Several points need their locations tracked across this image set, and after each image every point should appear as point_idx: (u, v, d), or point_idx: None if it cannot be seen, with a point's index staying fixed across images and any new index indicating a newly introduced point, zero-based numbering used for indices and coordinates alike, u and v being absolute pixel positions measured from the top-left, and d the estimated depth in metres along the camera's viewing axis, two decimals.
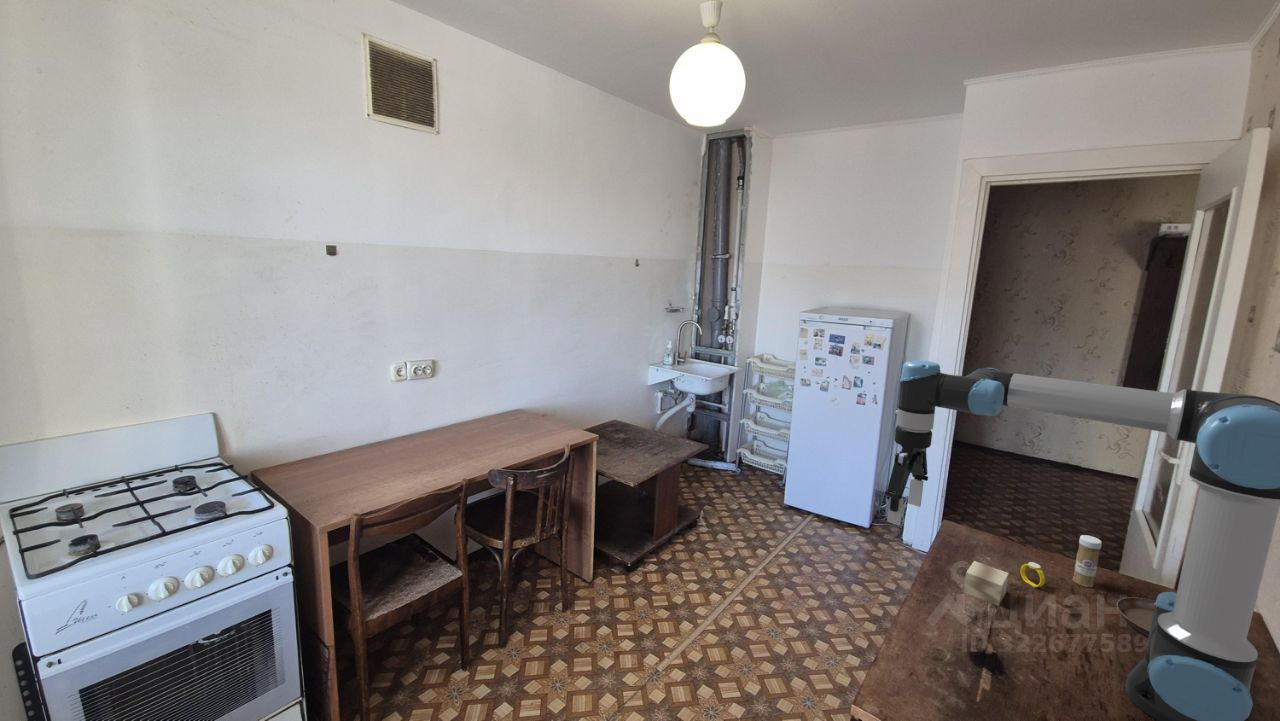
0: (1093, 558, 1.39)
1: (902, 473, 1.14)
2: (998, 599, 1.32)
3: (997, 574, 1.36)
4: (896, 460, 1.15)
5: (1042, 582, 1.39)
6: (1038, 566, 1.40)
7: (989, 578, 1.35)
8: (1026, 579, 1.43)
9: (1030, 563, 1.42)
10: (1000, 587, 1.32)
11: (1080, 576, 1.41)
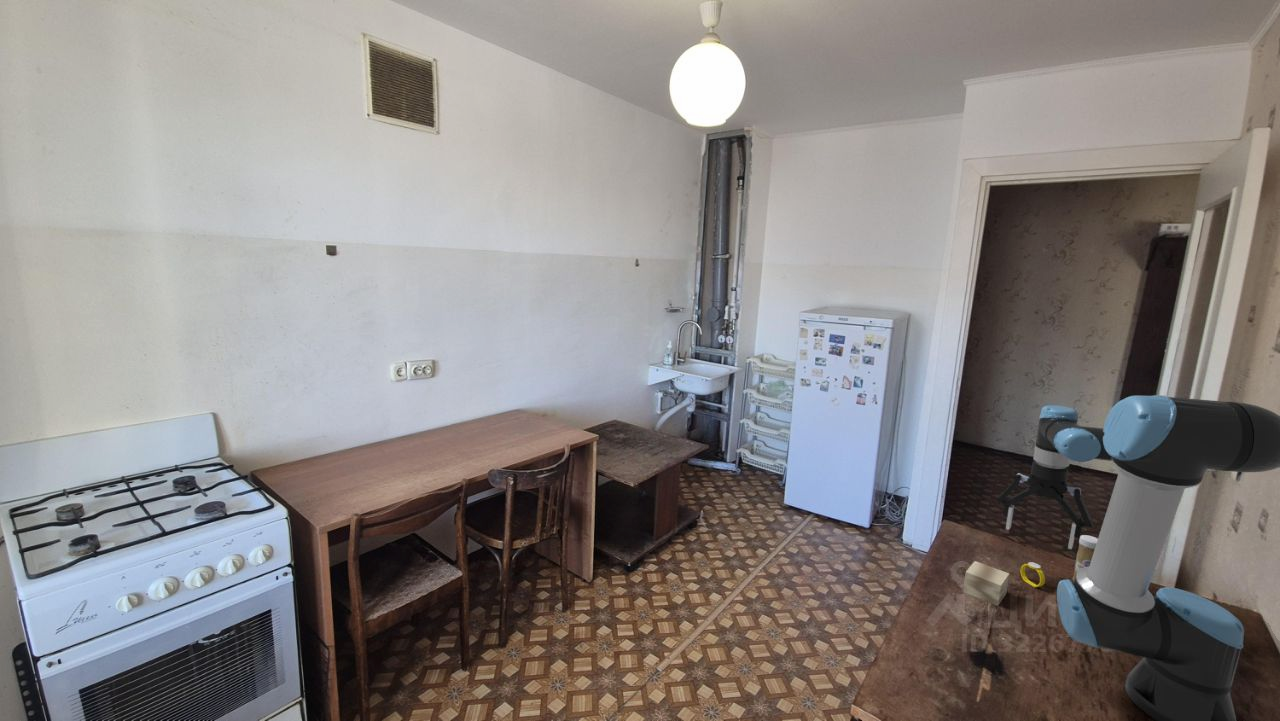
0: None
1: (1009, 486, 1.42)
2: (997, 599, 1.32)
3: (997, 574, 1.36)
4: None
5: (1042, 582, 1.39)
6: (1038, 566, 1.40)
7: (989, 578, 1.35)
8: (1026, 579, 1.43)
9: (1030, 563, 1.42)
10: (999, 587, 1.32)
11: None
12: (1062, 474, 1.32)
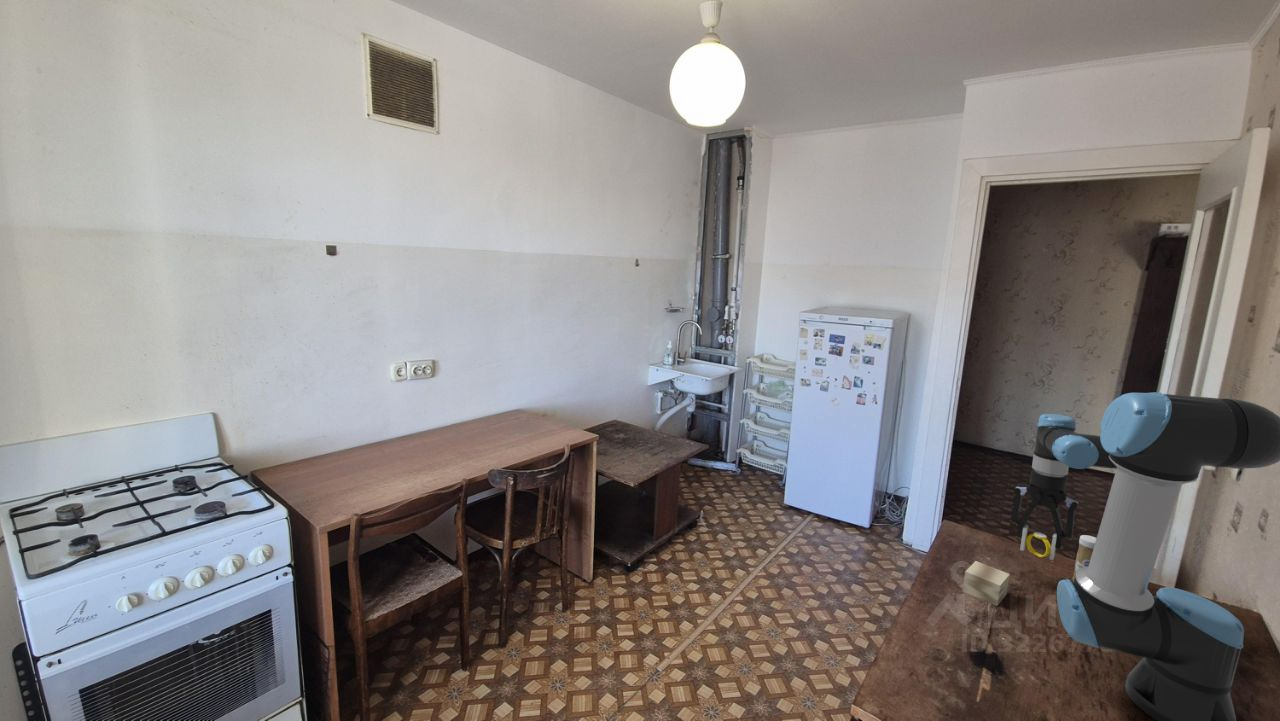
0: None
1: (1014, 502, 1.42)
2: (996, 599, 1.32)
3: (997, 574, 1.36)
4: None
5: (1048, 551, 1.37)
6: (1044, 536, 1.38)
7: (988, 578, 1.35)
8: (1032, 550, 1.41)
9: (1036, 533, 1.40)
10: (998, 587, 1.32)
11: None
12: (1061, 482, 1.33)
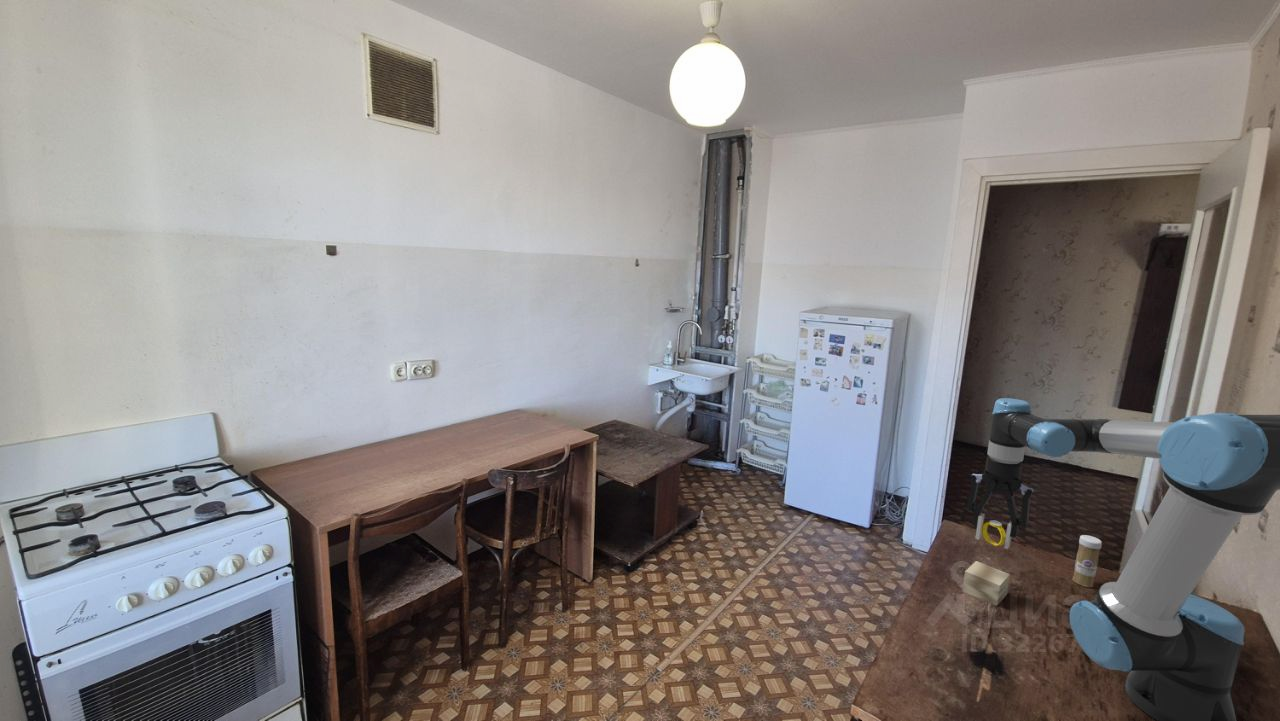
0: (1093, 558, 1.39)
1: None
2: (996, 599, 1.32)
3: (997, 575, 1.36)
4: None
5: (1003, 540, 1.32)
6: (999, 524, 1.34)
7: (988, 577, 1.35)
8: (988, 538, 1.37)
9: (991, 521, 1.35)
10: (998, 587, 1.32)
11: (1080, 576, 1.41)
12: (1015, 469, 1.28)
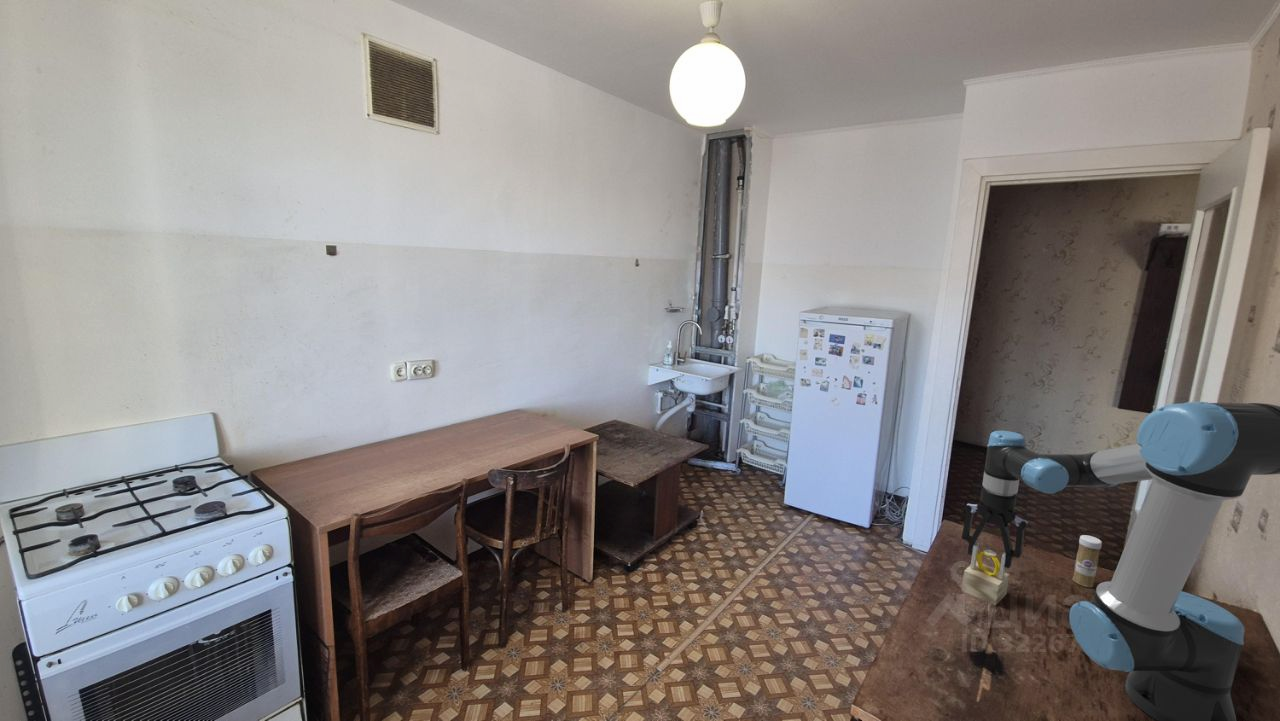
0: (1093, 558, 1.39)
1: None
2: (995, 599, 1.33)
3: None
4: None
5: (997, 570, 1.34)
6: (994, 553, 1.35)
7: (987, 577, 1.35)
8: (982, 567, 1.39)
9: (986, 550, 1.37)
10: (997, 587, 1.32)
11: (1080, 576, 1.41)
12: (1010, 501, 1.29)
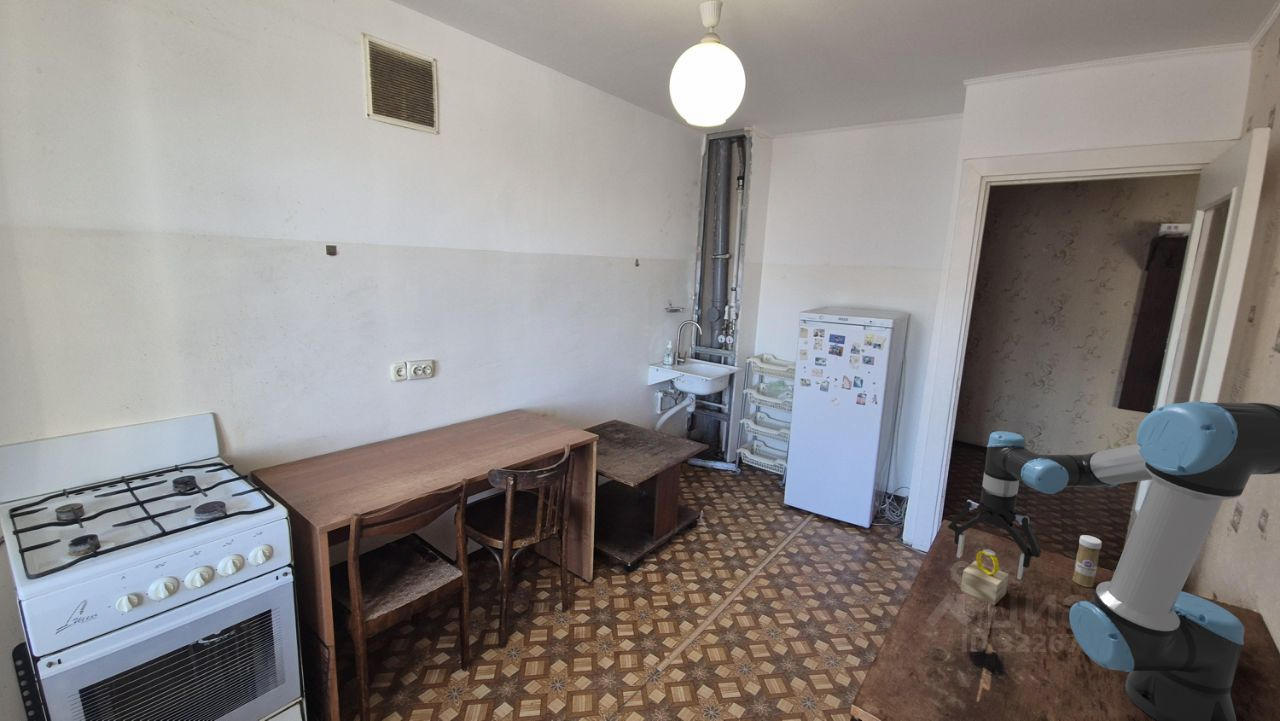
0: (1093, 558, 1.39)
1: (960, 513, 1.39)
2: (994, 598, 1.33)
3: (996, 574, 1.36)
4: None
5: (996, 569, 1.34)
6: (993, 553, 1.36)
7: (986, 577, 1.35)
8: (981, 567, 1.39)
9: (985, 550, 1.37)
10: (996, 586, 1.32)
11: (1080, 576, 1.41)
12: (1010, 502, 1.29)
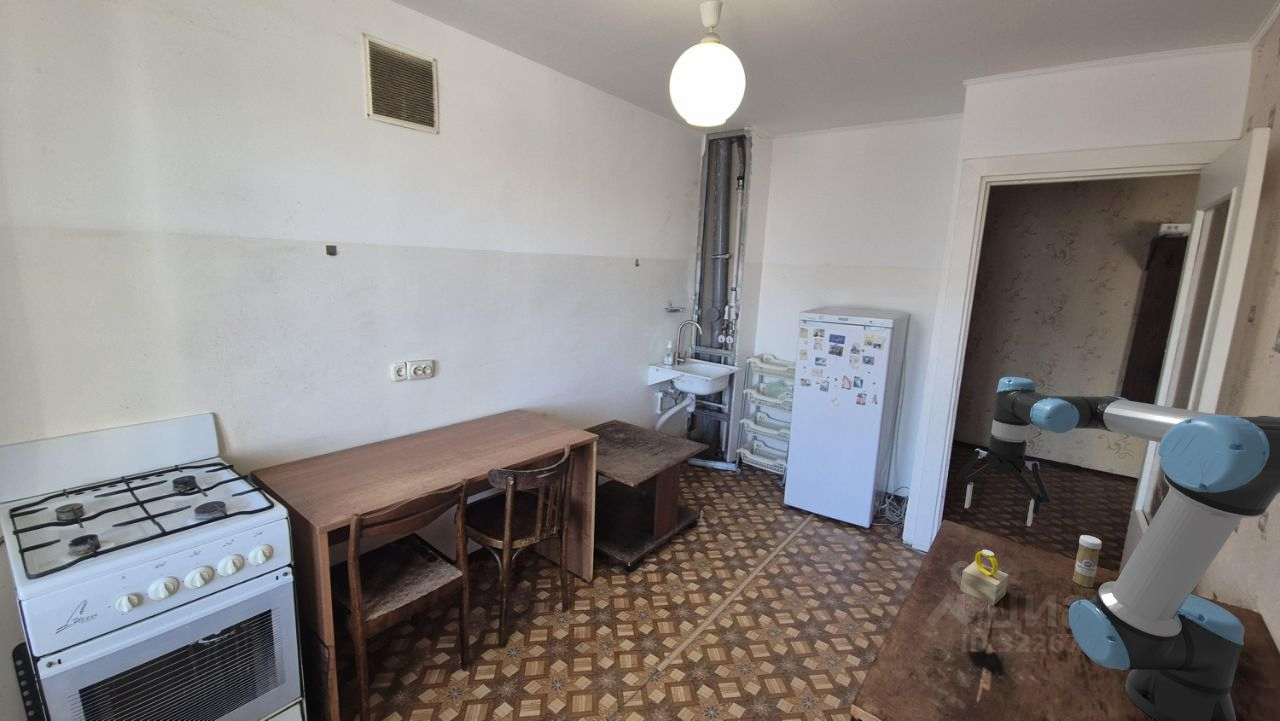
0: (1093, 558, 1.39)
1: (968, 462, 1.37)
2: (993, 599, 1.33)
3: (995, 574, 1.36)
4: None
5: (995, 570, 1.34)
6: (991, 554, 1.35)
7: (986, 577, 1.35)
8: (981, 567, 1.39)
9: (984, 551, 1.37)
10: (995, 587, 1.32)
11: (1080, 576, 1.41)
12: (1020, 447, 1.28)
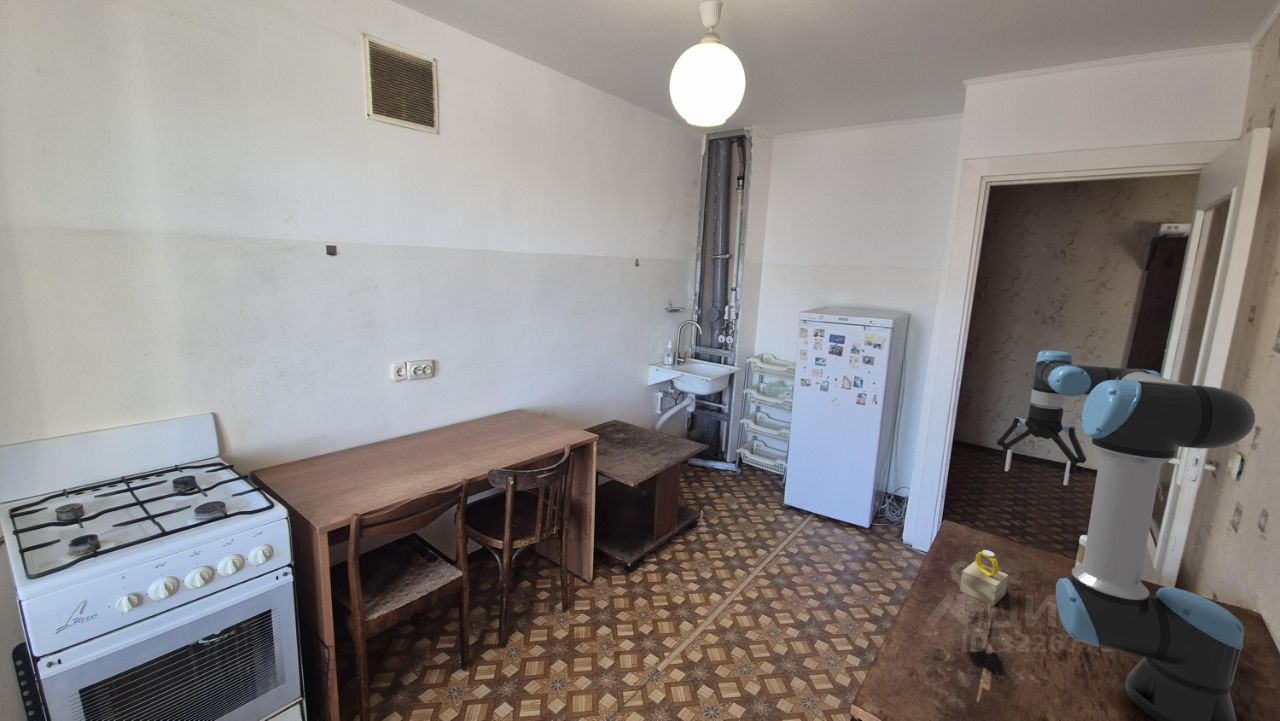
0: None
1: (1008, 429, 1.51)
2: (993, 599, 1.32)
3: (995, 575, 1.36)
4: None
5: (995, 571, 1.34)
6: (992, 554, 1.35)
7: (985, 577, 1.35)
8: (981, 568, 1.38)
9: (984, 551, 1.37)
10: (995, 587, 1.32)
11: None
12: (1057, 413, 1.41)
